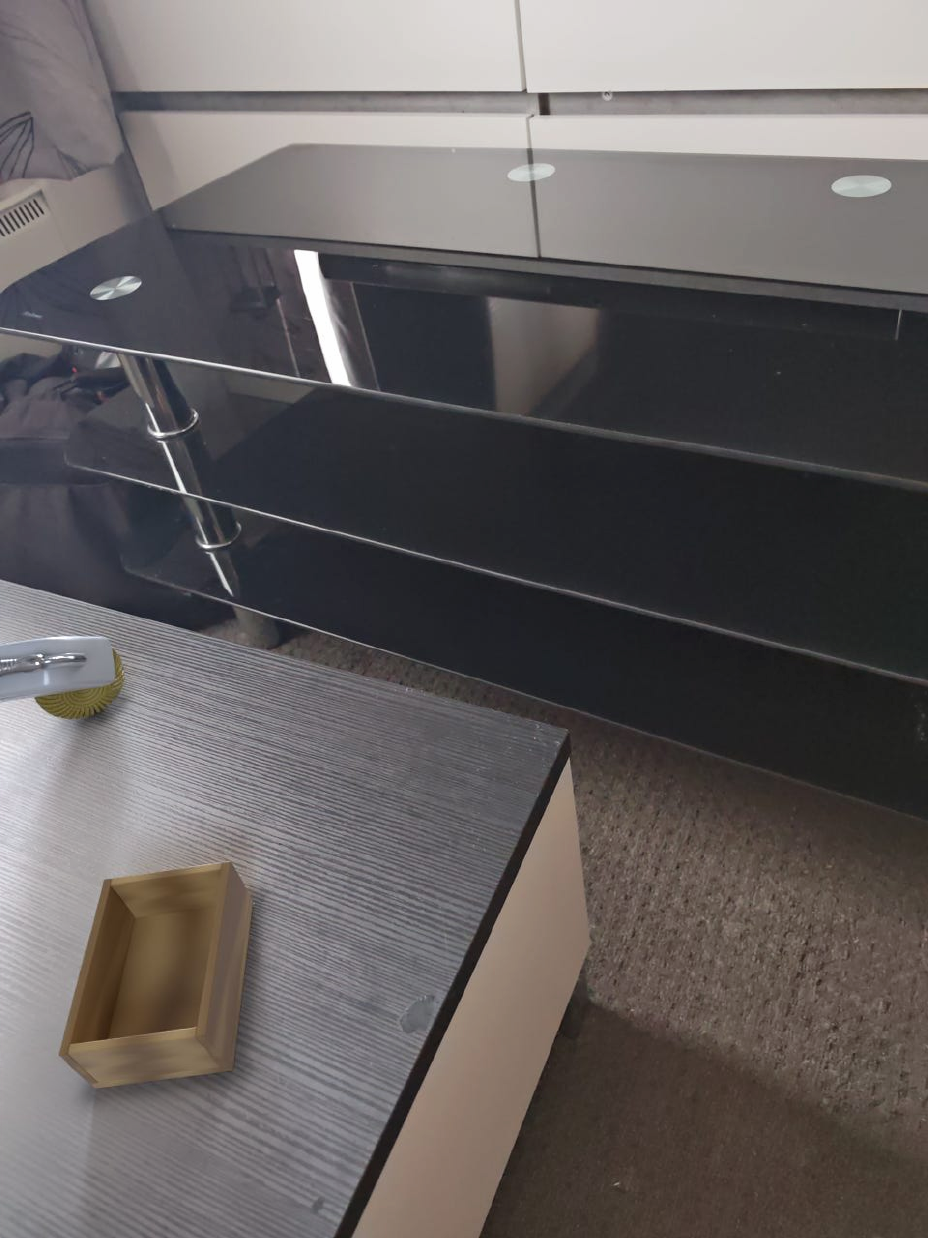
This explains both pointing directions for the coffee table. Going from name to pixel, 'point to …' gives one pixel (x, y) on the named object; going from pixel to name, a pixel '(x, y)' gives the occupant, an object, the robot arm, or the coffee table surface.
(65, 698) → the sculpture
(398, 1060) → the coffee table surface
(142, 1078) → the wooden box
